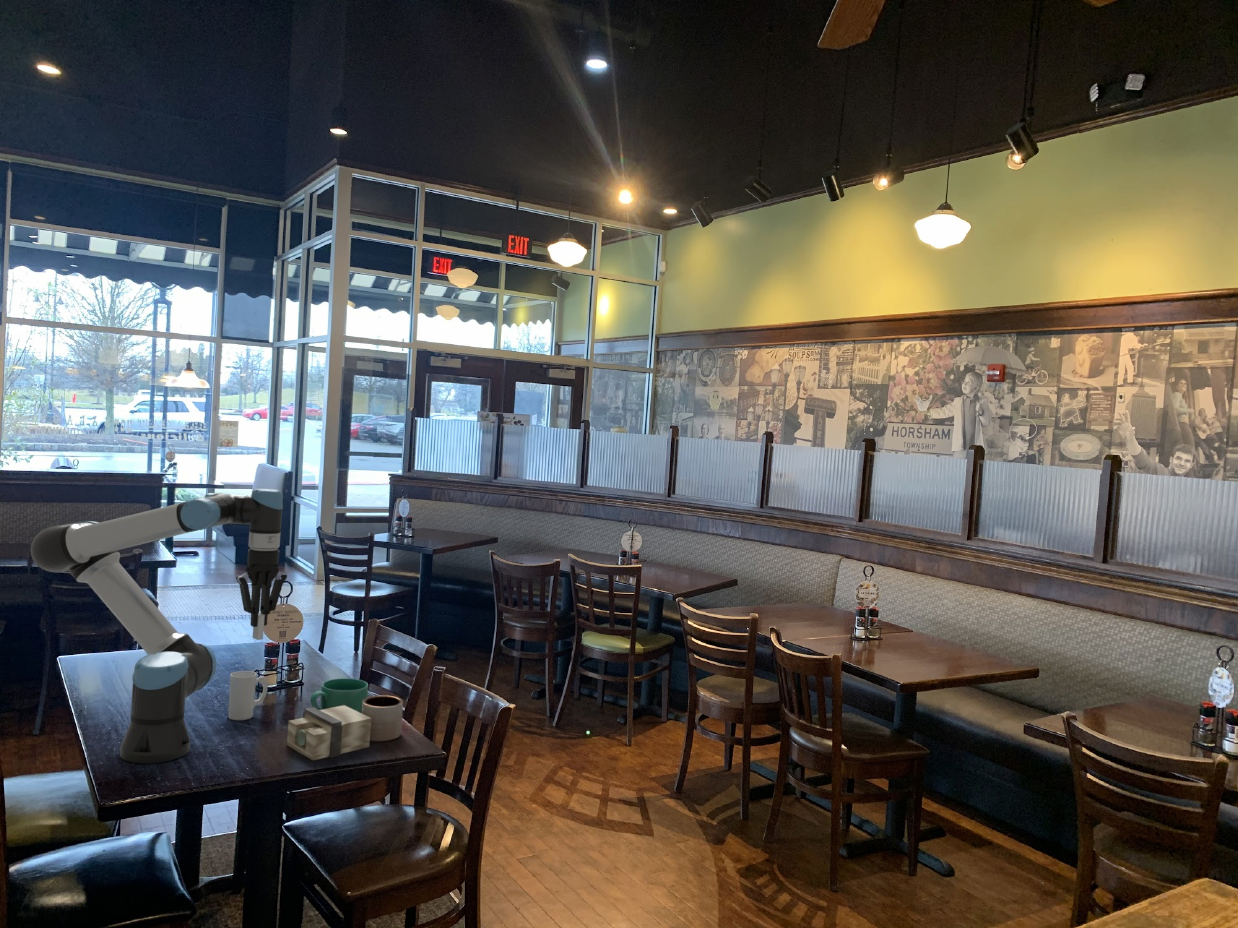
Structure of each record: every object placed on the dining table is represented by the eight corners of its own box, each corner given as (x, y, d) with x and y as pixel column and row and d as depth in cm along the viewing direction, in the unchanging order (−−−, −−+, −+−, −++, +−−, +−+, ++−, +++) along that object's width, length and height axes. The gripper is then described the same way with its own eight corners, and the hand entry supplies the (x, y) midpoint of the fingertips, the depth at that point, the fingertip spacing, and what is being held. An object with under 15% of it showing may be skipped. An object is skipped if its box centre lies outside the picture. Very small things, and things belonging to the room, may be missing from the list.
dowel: (303, 747, 219) (304, 732, 219) (296, 743, 221) (297, 728, 221) (353, 736, 229) (354, 721, 229) (345, 732, 232) (346, 717, 232)
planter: (367, 727, 242) (369, 693, 242) (405, 730, 242) (408, 696, 242) (353, 740, 231) (356, 705, 231) (394, 744, 231) (396, 708, 231)
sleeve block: (314, 761, 215) (317, 727, 215) (284, 743, 225) (287, 711, 225) (371, 747, 227) (373, 715, 227) (340, 731, 237) (342, 700, 237)
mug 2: (353, 707, 258) (355, 675, 258) (373, 719, 249) (376, 686, 249) (298, 716, 246) (301, 683, 246) (318, 729, 237) (320, 695, 237)
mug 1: (230, 721, 238) (233, 678, 237) (224, 714, 243) (227, 672, 243) (268, 717, 244) (271, 674, 243) (262, 710, 249) (265, 668, 249)
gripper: (246, 551, 218) (239, 644, 219) (294, 549, 228) (288, 638, 228) (232, 547, 223) (226, 638, 224) (280, 545, 233) (274, 632, 233)
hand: (257, 638), depth 226 cm, fingers closed
